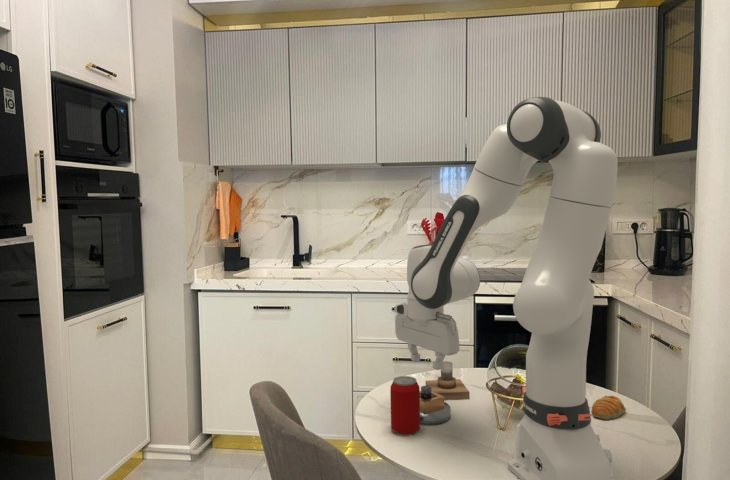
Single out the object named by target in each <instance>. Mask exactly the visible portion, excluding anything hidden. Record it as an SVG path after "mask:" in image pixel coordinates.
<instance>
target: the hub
mask: <svg viewBox="0 0 730 480" xmlns="http://www.w3.org/2000/svg"><path fill="white" fill-rule="evenodd" d="M420 391H421V394H420V398H422V399H424V400H427V399H430V398H433V397H435V396H434V395H432V394H431V387H430V386H426V385H422V386H420ZM451 407H452V406H450V404H448V402H446V401H445V408H444V409H441V410H438V411H435V412H432V413H429V414H426V415H424V414H422V413H420V426H438V425H442V424H445V423H447V422H448V421H450V420H451V418H452V417H451V415H452V414H451V413H452V410H451Z"/></svg>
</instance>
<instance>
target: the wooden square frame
mask: <svg viewBox="0 0 730 480" xmlns="http://www.w3.org/2000/svg"><path fill="white" fill-rule="evenodd" d="M420 394H421V390H420ZM431 394H432V395H434V396H435V397H433V398H430V399H427V400H424V399H422V398H420V413H422V414H424V415H426V414H429V413H432V412H435V411H438V410H441V409H444V408H445V402H446V400H445V397H444V396H442V395H440V394H437V393H435V392H433V391H431Z"/></svg>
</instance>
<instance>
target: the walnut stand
mask: <svg viewBox="0 0 730 480" xmlns="http://www.w3.org/2000/svg"><path fill="white" fill-rule="evenodd" d="M453 371H454V370H453V362H452V361H446V360H445V361H444V360H443V361H442V369H440V376H438V378H437V379H431V380H430V379H428V380H425V386H430V387H431V391H433V392H435V393H437V394H440V395H442V396H444V397H445V401H452V400H453V401H455V400H470V391H469V389H468V388H467V387H466V385H465V384H464V383H463V382H462V380H461V379H459V378H457V379H456V378H455V377H454V376H453V375H454V374H453Z"/></svg>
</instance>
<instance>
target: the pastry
mask: <svg viewBox="0 0 730 480" xmlns="http://www.w3.org/2000/svg"><path fill="white" fill-rule="evenodd" d="M626 411H627V408H626V406H625V405H624V402H623V401H622V400H621V399H620V398H619V397H617V396H614V395H604V396H603V397H601V398H598V399H597V400H596V401H594V402H593V404H592V407H591V415H592V417H595V418H598V419H602V420H605V421H609V420H613V419H618V418H619V417H620V416H623V415H624V413H625V412H626Z"/></svg>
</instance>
